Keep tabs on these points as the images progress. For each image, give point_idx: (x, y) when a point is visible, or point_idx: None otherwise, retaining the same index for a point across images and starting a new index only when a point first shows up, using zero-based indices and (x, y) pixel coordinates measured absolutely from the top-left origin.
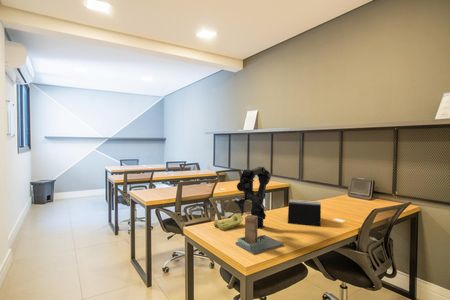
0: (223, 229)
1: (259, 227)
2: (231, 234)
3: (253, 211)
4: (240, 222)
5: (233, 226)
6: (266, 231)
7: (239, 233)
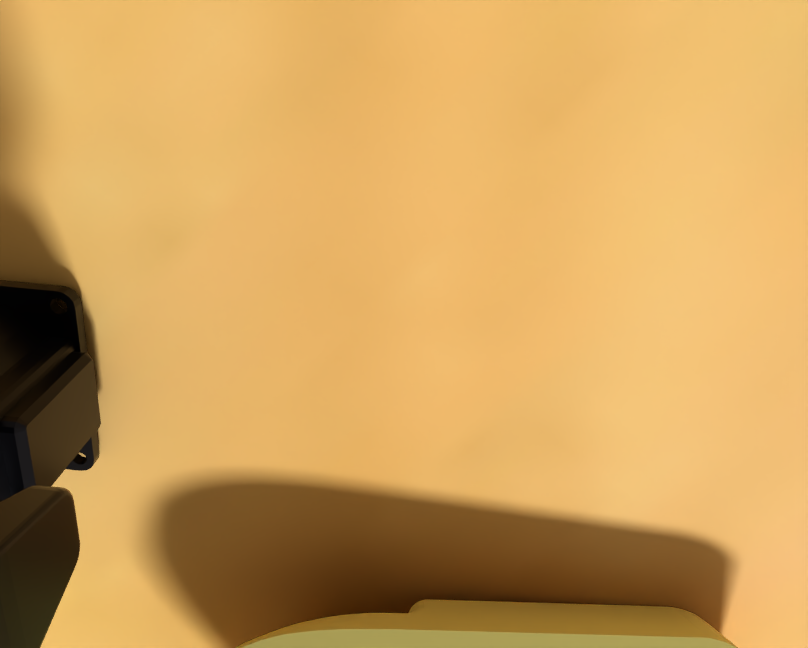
0: (693, 616)
1: (29, 288)
2: (780, 374)
3: (64, 544)
4: (300, 625)
5: (471, 605)
6: (9, 26)
7: (614, 319)
